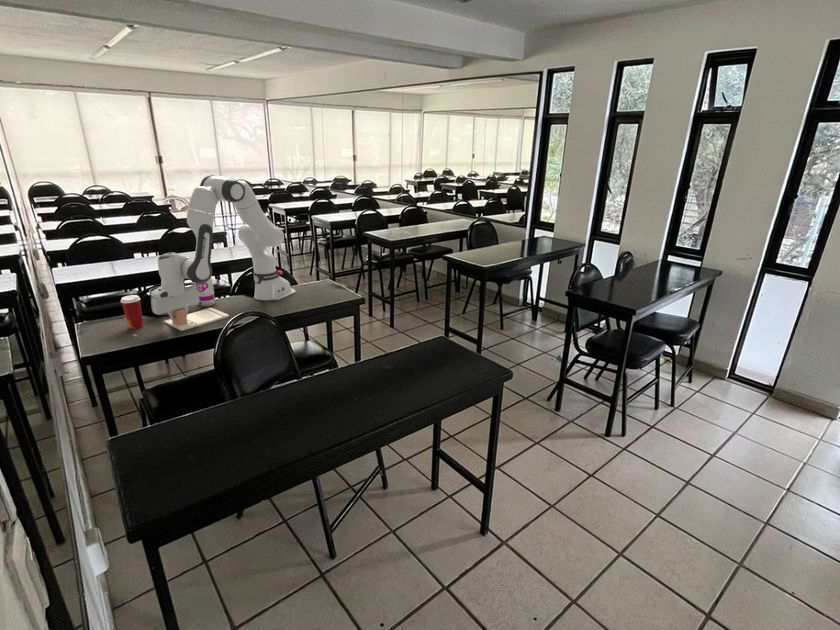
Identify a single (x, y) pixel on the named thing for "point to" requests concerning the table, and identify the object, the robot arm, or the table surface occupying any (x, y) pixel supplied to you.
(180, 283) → the robot arm
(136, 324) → the paper cup
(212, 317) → the white flat square board
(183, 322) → the stub
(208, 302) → the supplement can
